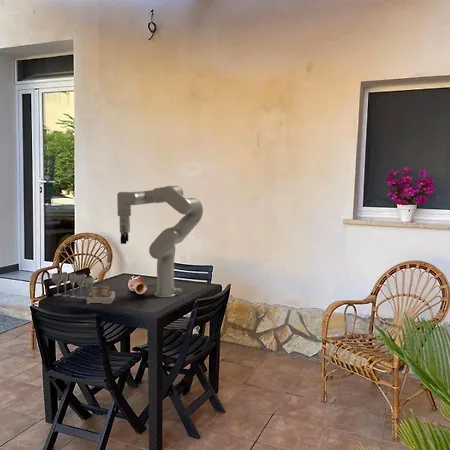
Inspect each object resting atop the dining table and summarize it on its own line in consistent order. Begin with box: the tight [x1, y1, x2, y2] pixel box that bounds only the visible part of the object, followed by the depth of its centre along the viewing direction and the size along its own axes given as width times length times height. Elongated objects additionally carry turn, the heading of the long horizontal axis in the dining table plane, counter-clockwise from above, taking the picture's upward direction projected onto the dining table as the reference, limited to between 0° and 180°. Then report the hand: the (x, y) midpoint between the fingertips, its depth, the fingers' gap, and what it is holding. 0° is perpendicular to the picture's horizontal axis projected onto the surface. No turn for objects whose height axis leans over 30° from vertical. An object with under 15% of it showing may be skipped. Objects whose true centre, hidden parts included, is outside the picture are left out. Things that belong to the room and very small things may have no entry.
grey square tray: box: [86, 291, 116, 305], centre depth 245 cm, size 13×13×3 cm
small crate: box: [90, 286, 110, 297], centre depth 244 cm, size 9×7×6 cm
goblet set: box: [51, 271, 94, 301], centre depth 250 cm, size 28×6×13 cm, turn 65°
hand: (124, 242), depth 265 cm, fingers open, 9 cm apart
